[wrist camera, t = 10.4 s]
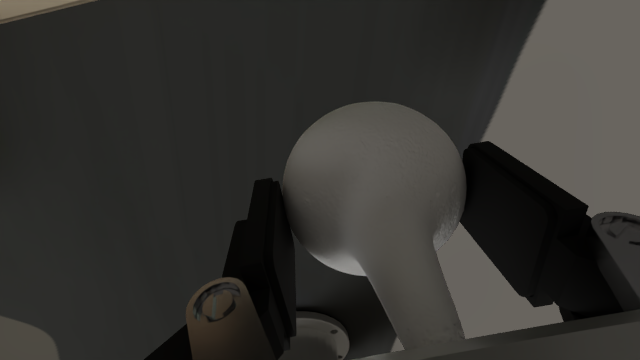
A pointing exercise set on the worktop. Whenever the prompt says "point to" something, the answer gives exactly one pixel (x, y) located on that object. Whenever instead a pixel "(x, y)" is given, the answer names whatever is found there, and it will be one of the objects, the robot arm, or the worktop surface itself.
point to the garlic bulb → (382, 209)
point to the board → (32, 8)
